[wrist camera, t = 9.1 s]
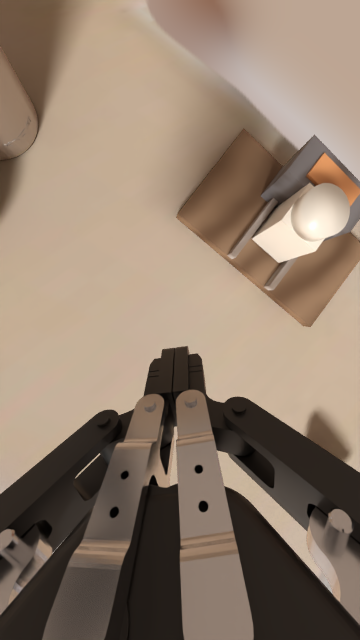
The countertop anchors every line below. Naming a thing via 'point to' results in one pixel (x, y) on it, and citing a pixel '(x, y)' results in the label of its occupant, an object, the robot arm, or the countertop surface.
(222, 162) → the knob mount
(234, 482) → the countertop surface
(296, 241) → the plunger knob
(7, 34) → the countertop surface
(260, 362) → the countertop surface
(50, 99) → the countertop surface
